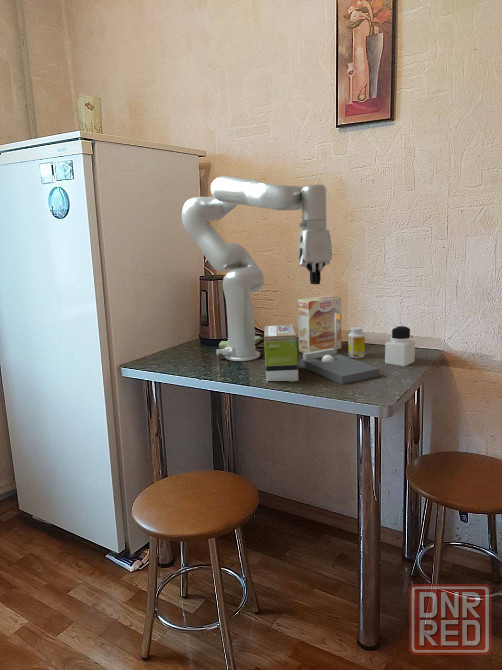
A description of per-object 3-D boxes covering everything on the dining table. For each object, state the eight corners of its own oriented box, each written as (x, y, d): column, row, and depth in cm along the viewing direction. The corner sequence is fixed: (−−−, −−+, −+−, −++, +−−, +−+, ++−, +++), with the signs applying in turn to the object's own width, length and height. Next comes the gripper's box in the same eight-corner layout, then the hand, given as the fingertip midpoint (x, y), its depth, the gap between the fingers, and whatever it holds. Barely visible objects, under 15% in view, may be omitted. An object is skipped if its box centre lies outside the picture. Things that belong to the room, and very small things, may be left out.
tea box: (265, 368, 173) (264, 324, 170) (296, 367, 173) (295, 323, 170) (265, 382, 159) (263, 335, 155) (299, 381, 158) (297, 333, 155)
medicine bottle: (414, 361, 173) (415, 326, 171) (404, 366, 168) (405, 330, 166) (395, 358, 178) (395, 324, 176) (384, 363, 173) (385, 327, 171)
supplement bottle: (367, 356, 182) (368, 327, 180) (357, 359, 179) (357, 330, 177) (355, 353, 186) (355, 325, 184) (344, 356, 183) (344, 328, 181)
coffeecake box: (309, 355, 187) (308, 301, 183) (298, 351, 193) (296, 299, 189) (342, 348, 194) (342, 296, 190) (330, 345, 200) (329, 294, 196)
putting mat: (341, 384, 154) (341, 329, 150) (300, 366, 174) (299, 317, 171) (379, 376, 160) (380, 323, 156) (335, 359, 180) (335, 312, 177)
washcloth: (264, 341, 213) (264, 333, 213) (247, 352, 198) (247, 343, 197) (235, 339, 218) (234, 332, 218) (216, 350, 203) (215, 341, 202)
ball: (318, 363, 173) (325, 370, 171) (320, 354, 171) (327, 361, 168) (327, 360, 175) (335, 367, 173) (329, 350, 173) (337, 357, 170)
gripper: (300, 226, 158) (301, 287, 162) (341, 224, 165) (341, 282, 169) (287, 226, 165) (289, 285, 169) (327, 224, 171) (328, 280, 175)
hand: (315, 283), depth 169 cm, fingers closed
